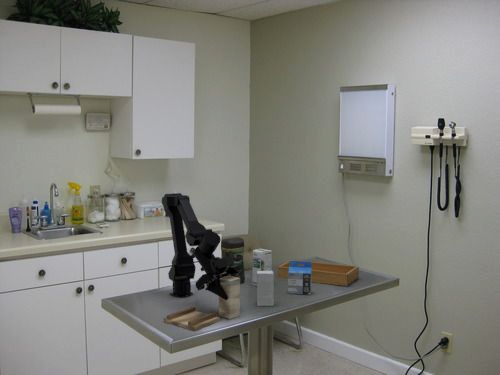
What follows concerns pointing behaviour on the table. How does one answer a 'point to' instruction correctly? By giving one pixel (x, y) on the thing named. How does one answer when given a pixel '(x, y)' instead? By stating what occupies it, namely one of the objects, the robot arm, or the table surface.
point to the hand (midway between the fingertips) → (232, 297)
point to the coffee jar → (234, 253)
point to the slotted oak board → (191, 319)
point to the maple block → (230, 297)
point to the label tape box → (299, 277)
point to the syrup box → (261, 262)
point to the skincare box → (265, 288)
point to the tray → (326, 273)
